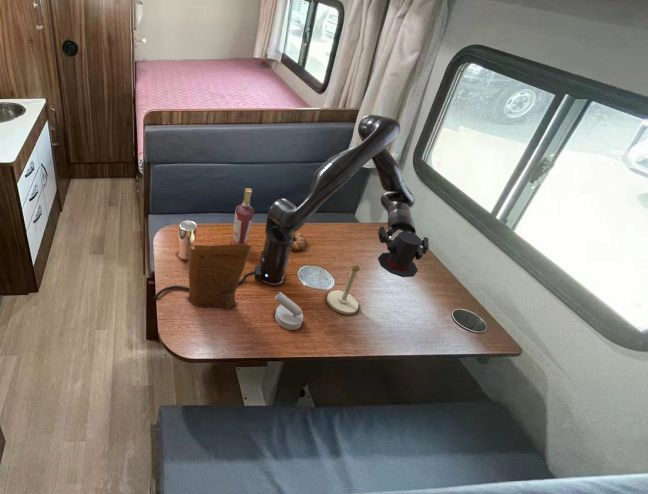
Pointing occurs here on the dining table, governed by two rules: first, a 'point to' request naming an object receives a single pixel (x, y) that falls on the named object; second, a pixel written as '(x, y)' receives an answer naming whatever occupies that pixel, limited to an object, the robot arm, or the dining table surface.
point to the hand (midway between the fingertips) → (405, 253)
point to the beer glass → (186, 238)
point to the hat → (402, 255)
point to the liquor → (243, 220)
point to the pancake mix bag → (216, 274)
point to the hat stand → (344, 296)
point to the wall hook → (288, 313)
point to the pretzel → (298, 241)
